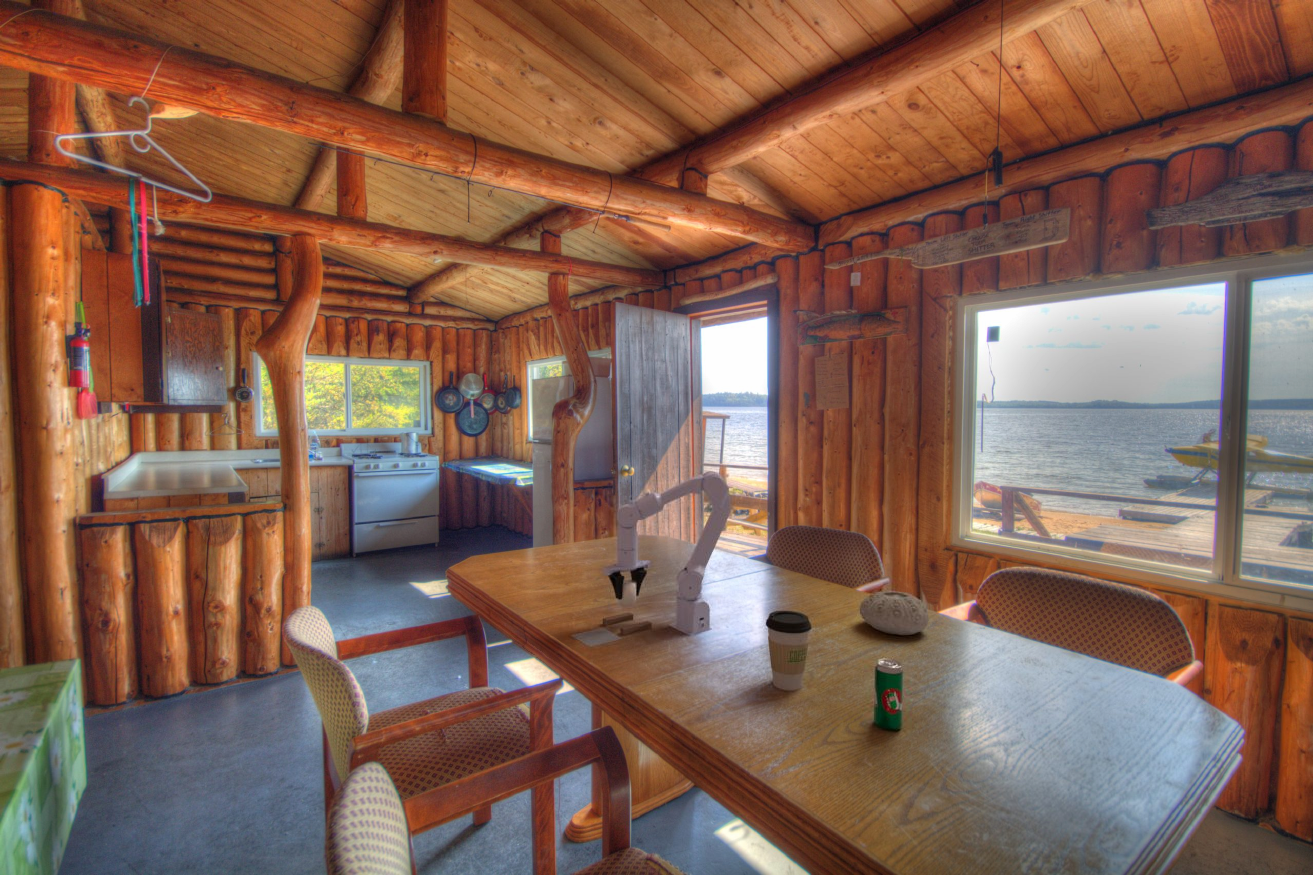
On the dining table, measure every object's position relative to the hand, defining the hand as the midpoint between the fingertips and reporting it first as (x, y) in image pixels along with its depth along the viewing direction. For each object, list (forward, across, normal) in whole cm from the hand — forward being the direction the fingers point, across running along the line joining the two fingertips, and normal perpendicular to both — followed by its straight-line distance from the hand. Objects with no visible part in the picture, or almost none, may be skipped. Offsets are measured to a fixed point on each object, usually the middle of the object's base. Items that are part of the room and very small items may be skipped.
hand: (627, 596), depth 165 cm
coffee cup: (+9, -9, +50) cm, 52 cm away
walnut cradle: (+9, 0, 0) cm, 9 cm away
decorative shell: (+9, -60, +44) cm, 75 cm away
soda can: (+9, -11, +73) cm, 74 cm away
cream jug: (+2, 0, -1) cm, 2 cm away
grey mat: (+9, +11, +2) cm, 14 cm away
